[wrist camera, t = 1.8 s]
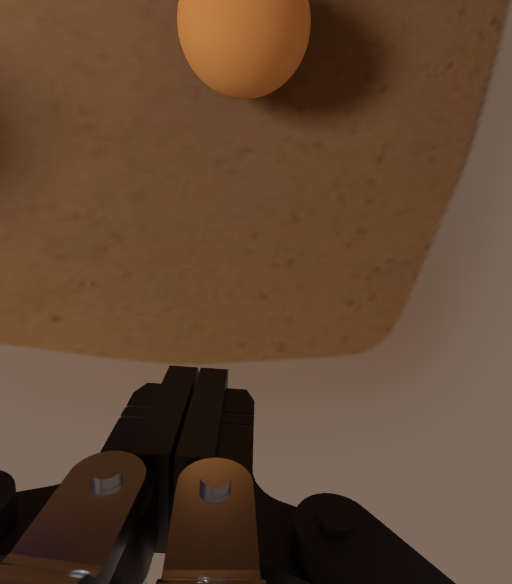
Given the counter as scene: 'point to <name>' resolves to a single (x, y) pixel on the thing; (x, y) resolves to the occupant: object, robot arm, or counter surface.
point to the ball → (244, 42)
